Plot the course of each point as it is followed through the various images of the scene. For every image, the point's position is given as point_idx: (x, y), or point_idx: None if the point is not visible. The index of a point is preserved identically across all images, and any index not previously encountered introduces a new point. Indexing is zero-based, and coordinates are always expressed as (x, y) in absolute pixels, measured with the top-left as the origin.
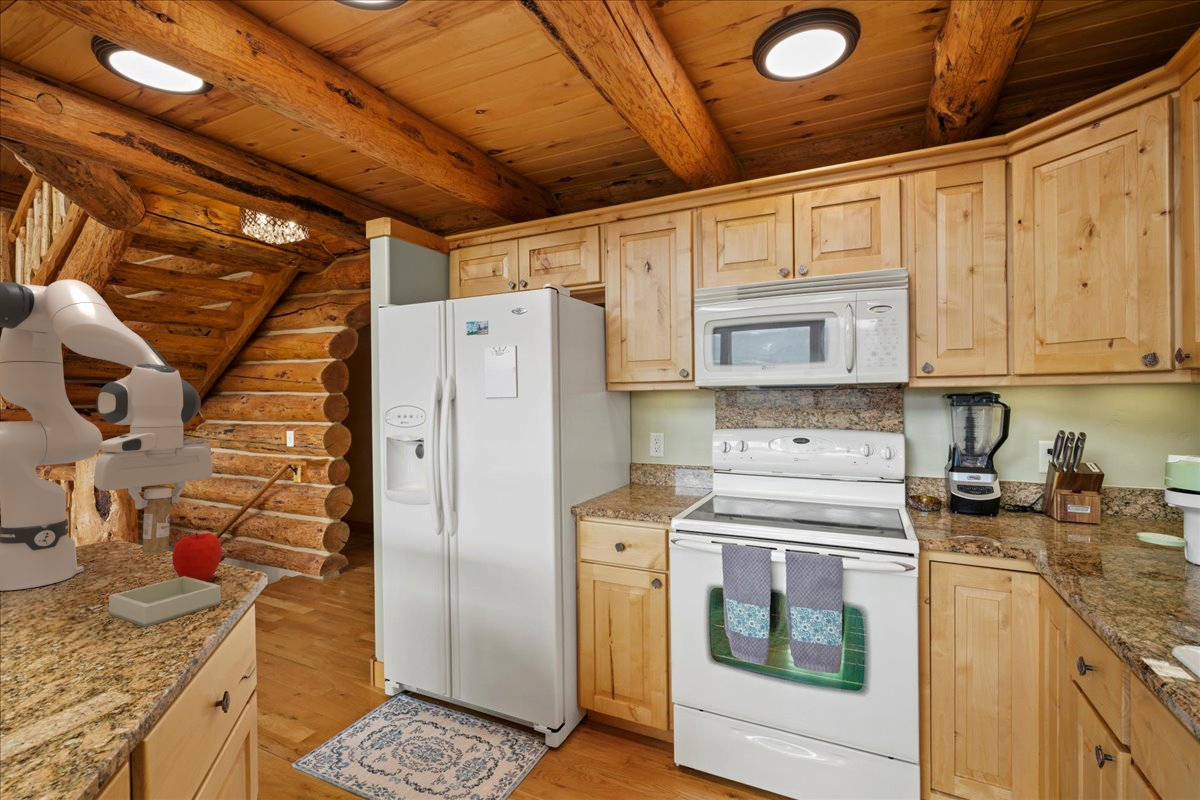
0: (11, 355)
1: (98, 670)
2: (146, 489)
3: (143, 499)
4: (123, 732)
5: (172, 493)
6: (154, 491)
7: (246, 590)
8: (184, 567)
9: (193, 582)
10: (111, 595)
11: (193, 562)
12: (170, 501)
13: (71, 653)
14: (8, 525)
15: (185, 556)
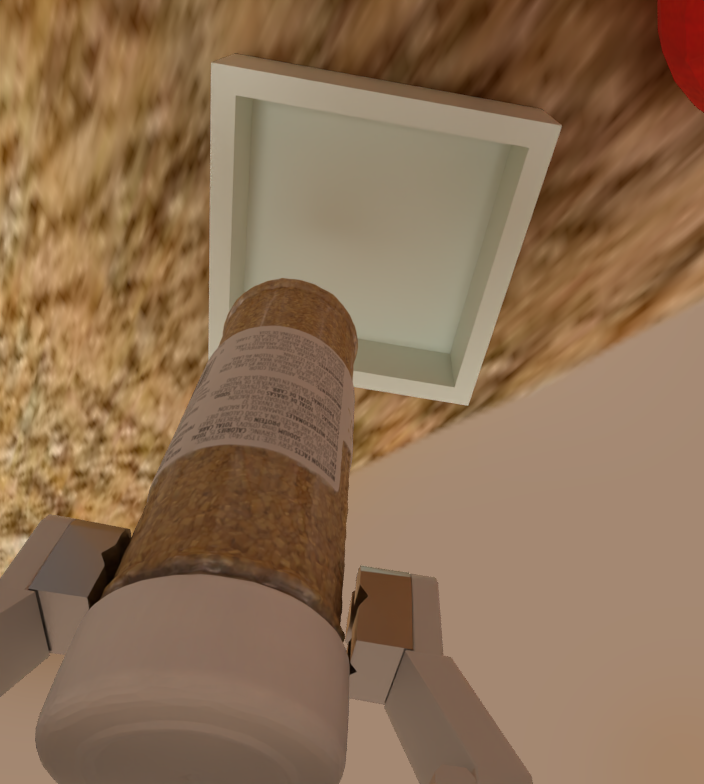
0: None
1: (47, 457)
2: (58, 737)
3: (73, 622)
4: None
5: (417, 670)
6: None
7: (616, 332)
8: (661, 23)
9: (495, 250)
10: (215, 76)
11: (683, 84)
12: (347, 625)
13: (31, 313)
14: None
15: (683, 46)
